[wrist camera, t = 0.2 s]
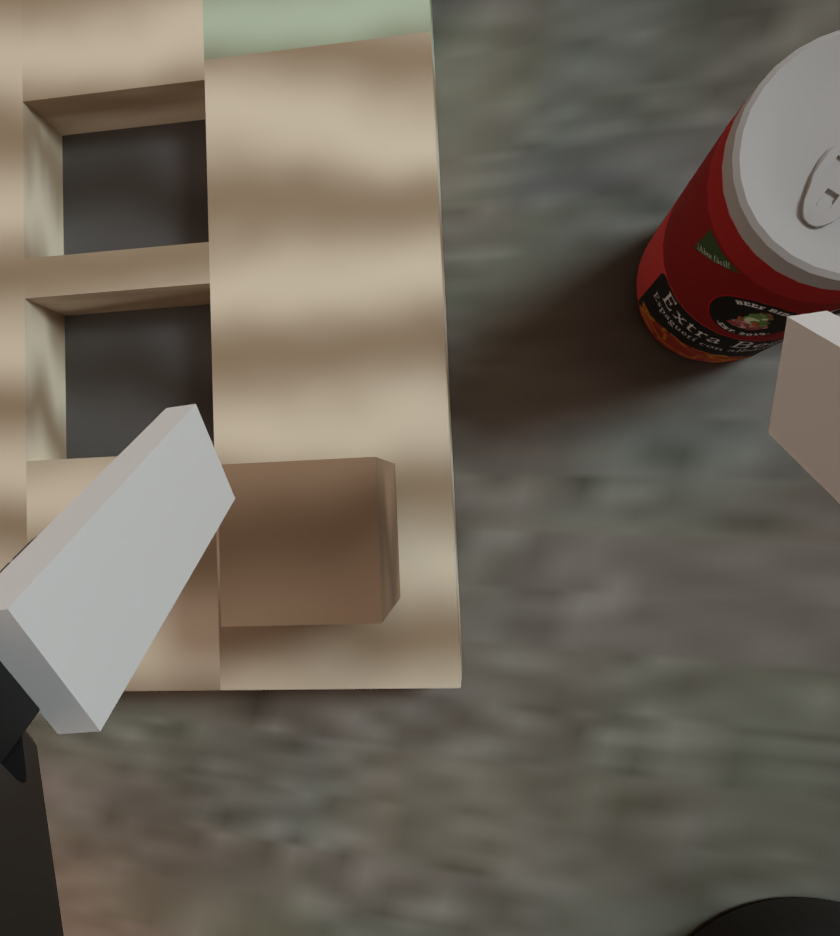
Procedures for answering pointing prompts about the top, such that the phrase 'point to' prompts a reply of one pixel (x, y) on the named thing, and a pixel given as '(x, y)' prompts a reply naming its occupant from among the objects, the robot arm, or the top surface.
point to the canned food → (754, 220)
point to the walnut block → (310, 543)
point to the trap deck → (232, 289)
